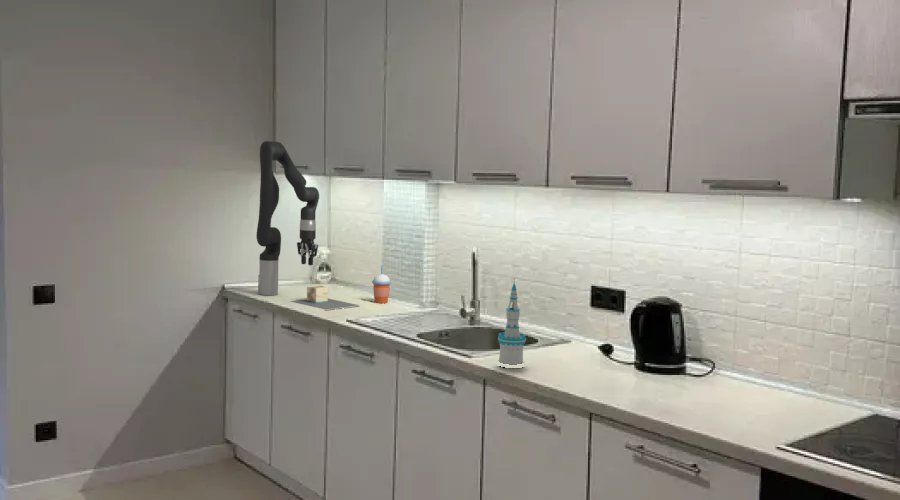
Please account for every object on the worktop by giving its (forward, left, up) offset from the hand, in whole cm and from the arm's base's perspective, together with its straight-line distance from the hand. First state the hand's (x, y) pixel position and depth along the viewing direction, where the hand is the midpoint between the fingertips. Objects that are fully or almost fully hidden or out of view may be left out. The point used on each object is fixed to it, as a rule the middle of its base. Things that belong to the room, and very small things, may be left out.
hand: (307, 264), depth 411 cm
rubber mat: (+14, 0, -17) cm, 22 cm away
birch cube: (+8, 0, -17) cm, 19 cm away
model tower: (+147, -25, -18) cm, 151 cm away
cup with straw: (+24, +26, -18) cm, 40 cm away
